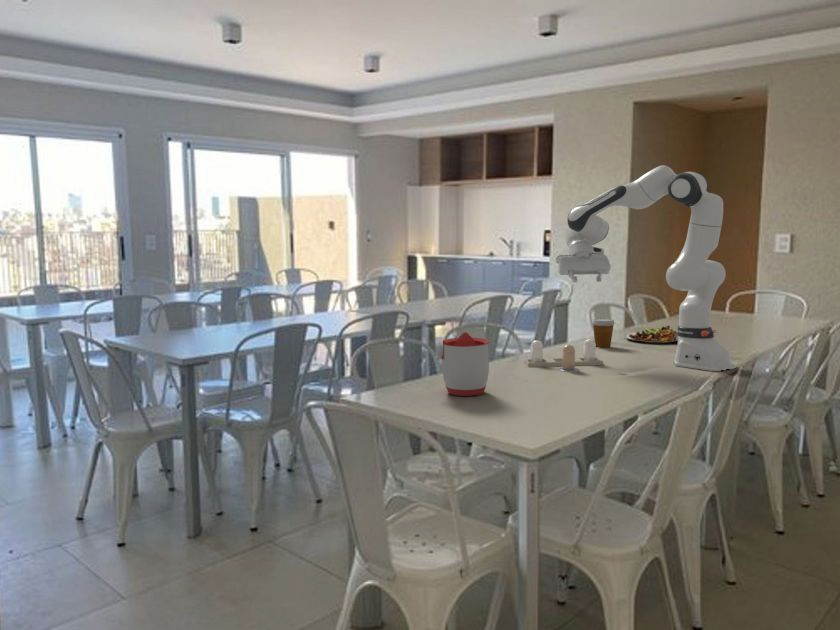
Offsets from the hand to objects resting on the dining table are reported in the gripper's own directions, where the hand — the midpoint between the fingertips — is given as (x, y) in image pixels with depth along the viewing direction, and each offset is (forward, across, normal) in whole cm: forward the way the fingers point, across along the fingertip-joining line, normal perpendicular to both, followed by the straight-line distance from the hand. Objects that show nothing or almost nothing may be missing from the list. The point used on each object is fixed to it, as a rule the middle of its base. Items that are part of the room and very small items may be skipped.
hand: (587, 281), depth 274 cm
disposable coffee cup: (+3, +15, +42) cm, 44 cm away
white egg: (+30, -22, +13) cm, 39 cm away
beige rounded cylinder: (+38, -13, +5) cm, 40 cm away
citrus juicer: (+57, -53, -12) cm, 79 cm away
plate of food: (-8, +44, +53) cm, 69 cm away
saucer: (+38, -13, +6) cm, 41 cm away
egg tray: (+31, -12, +14) cm, 36 cm away
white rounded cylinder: (+30, -2, +13) cm, 33 cm away
